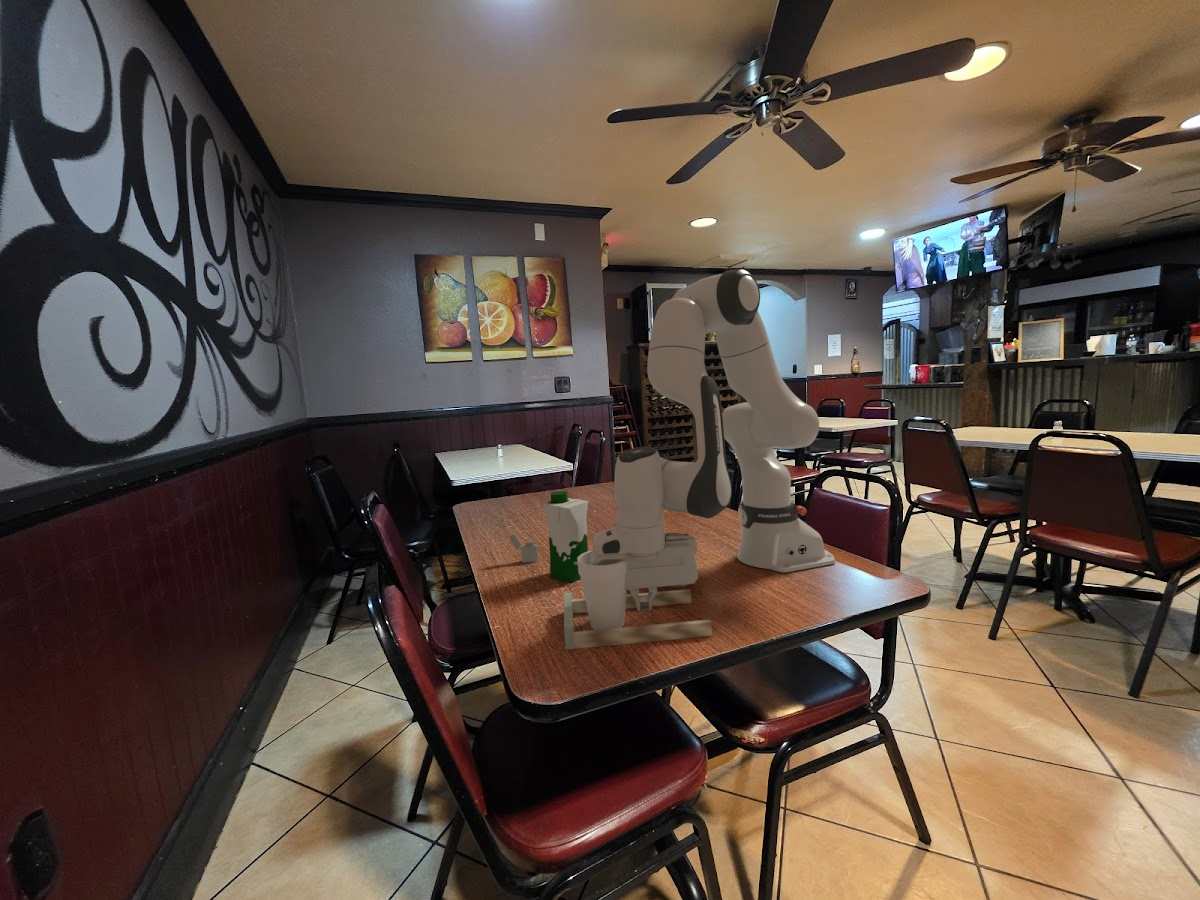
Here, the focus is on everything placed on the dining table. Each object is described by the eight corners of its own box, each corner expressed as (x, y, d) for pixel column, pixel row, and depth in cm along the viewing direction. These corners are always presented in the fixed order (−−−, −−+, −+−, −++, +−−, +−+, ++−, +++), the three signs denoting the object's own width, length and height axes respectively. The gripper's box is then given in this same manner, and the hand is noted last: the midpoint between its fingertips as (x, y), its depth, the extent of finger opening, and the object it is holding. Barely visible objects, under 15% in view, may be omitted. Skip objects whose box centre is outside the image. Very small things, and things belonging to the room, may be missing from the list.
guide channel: (689, 600, 94) (689, 589, 94) (711, 635, 80) (711, 622, 80) (572, 611, 92) (571, 599, 92) (574, 648, 78) (573, 634, 78)
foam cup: (590, 641, 80) (584, 570, 79) (576, 618, 89) (571, 553, 88) (640, 629, 83) (636, 560, 82) (622, 608, 92) (618, 545, 90)
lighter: (538, 559, 123) (536, 530, 122) (537, 561, 121) (535, 532, 120) (511, 561, 123) (509, 532, 122) (510, 564, 121) (508, 534, 120)
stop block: (572, 611, 92) (571, 592, 92) (574, 648, 78) (573, 626, 78) (565, 611, 92) (563, 592, 92) (565, 649, 78) (564, 627, 78)
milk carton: (568, 565, 117) (563, 488, 115) (596, 572, 112) (592, 491, 109) (544, 577, 110) (538, 496, 108) (573, 585, 105) (567, 499, 102)
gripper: (691, 527, 88) (693, 596, 90) (585, 536, 86) (589, 606, 88) (701, 537, 82) (703, 611, 83) (587, 546, 80) (591, 622, 82)
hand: (644, 608), depth 86 cm, fingers closed
